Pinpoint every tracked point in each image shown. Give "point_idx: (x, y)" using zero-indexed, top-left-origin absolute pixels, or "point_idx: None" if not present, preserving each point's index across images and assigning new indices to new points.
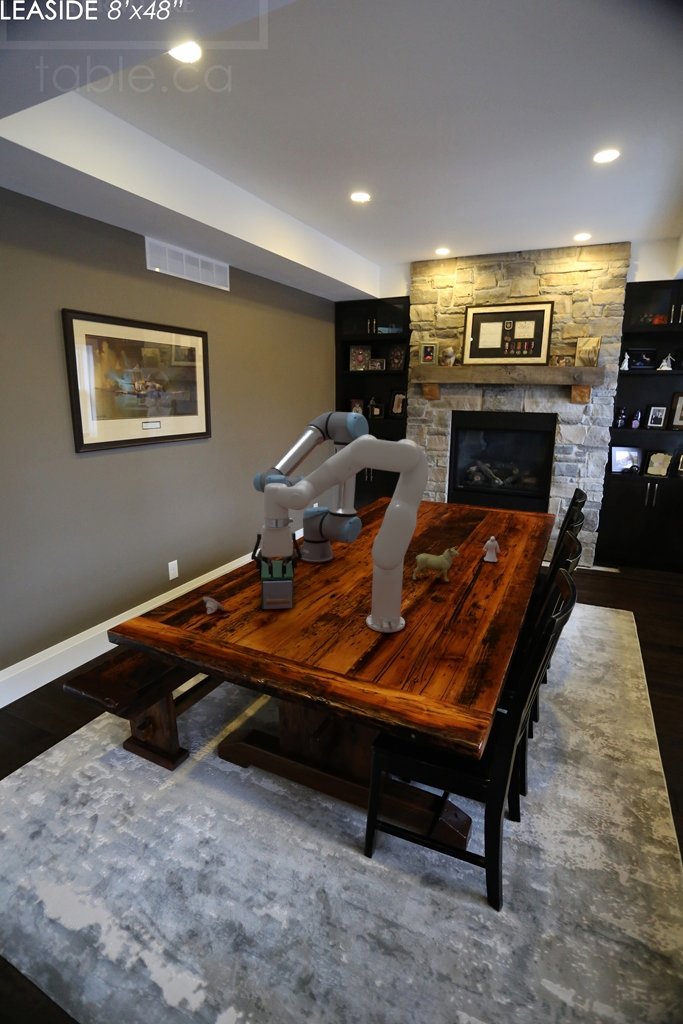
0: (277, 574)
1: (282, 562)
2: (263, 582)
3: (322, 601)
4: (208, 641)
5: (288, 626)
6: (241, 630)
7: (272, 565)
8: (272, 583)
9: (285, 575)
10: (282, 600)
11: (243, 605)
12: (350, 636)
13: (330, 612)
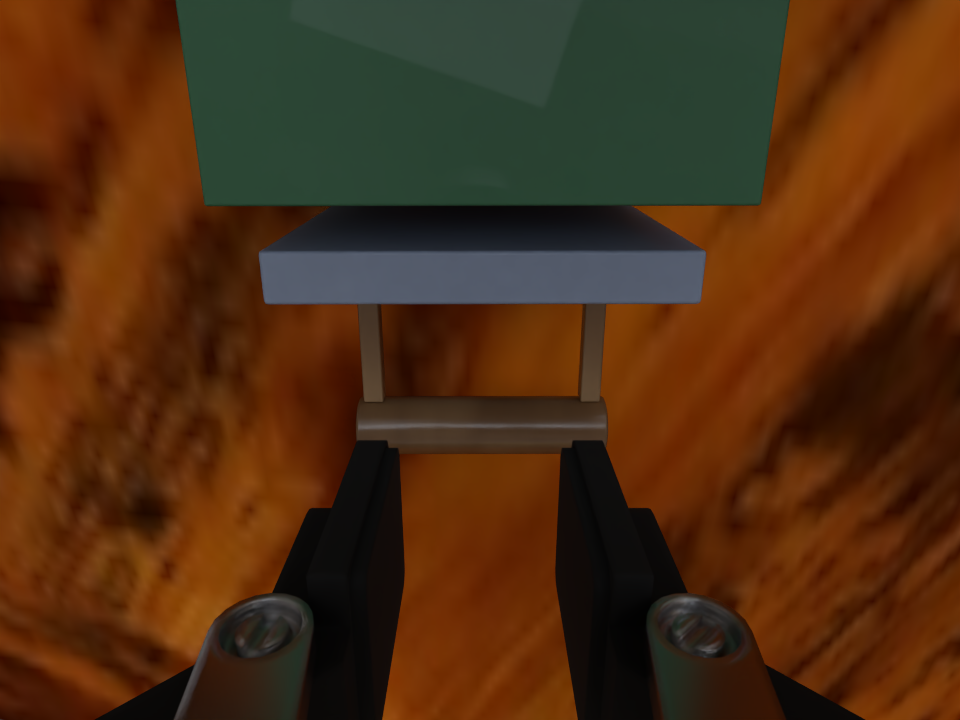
0: (486, 81)
1: (619, 707)
2: (269, 293)
3: (955, 32)
4: (32, 631)
5: (554, 497)
6: (216, 521)
7: (366, 693)
8: (407, 298)
9: (629, 146)
10: (529, 452)
11: (133, 54)
12: (943, 654)
13: (943, 298)
